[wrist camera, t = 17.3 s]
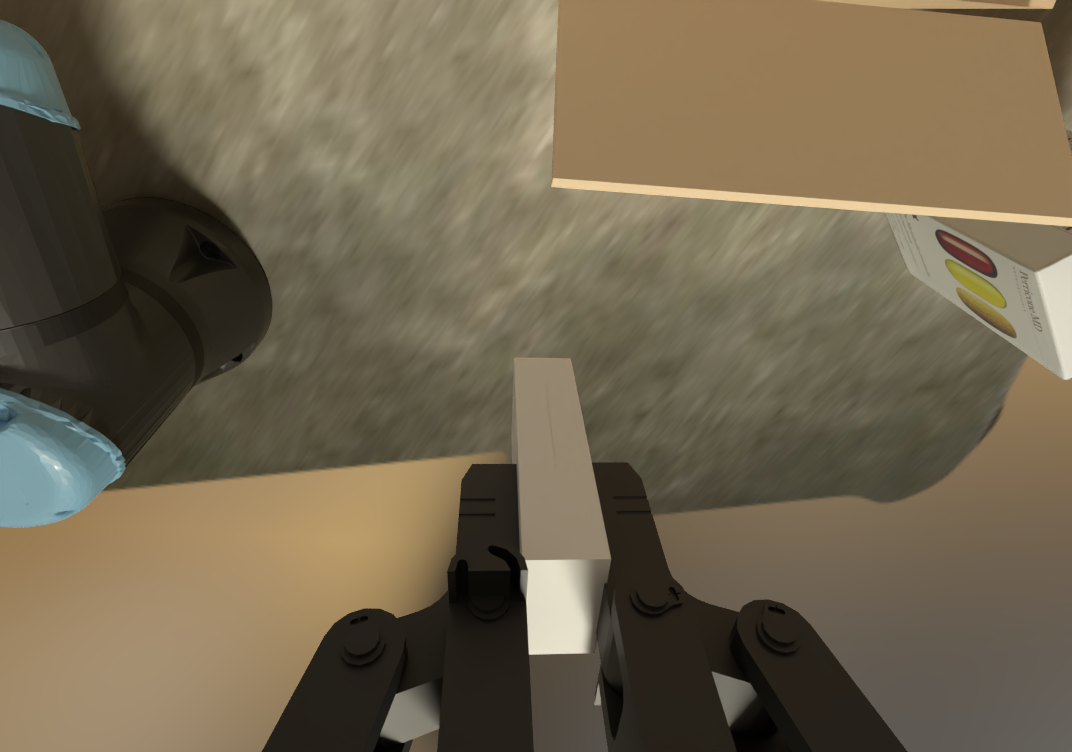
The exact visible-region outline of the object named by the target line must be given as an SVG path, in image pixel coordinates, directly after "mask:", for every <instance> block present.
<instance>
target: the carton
mask: <svg viewBox="0 0 1072 752" xmlns="http://www.w3.org/2000/svg"><path fill="white" fill-rule="evenodd" d="M818 1H828V2H838V3H848V4H859V5H869V6H879V7H889V8H905V9H1052V8H1053V6H1054V4H1055V2H1056V0H818Z"/></svg>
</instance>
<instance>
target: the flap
mask: <svg viewBox="0 0 1072 752" xmlns="http://www.w3.org/2000/svg"><path fill="white" fill-rule="evenodd" d="M552 187H560V188H573V189H586V190H599V191H612V192H626V193H639V194H652V195H665V196H678V197H691V198H704V199H717V200H730V201H743V202H756V203H769V204H782V205H796V206H809V207H822V208H835V209H848V210H861V211H874V212H887V213H900V214H913V215H926V216H939V217H952V218H966V219H979V220H992V221H1005V222H1018V223H1031V224H1044V225H1057V226H1070V227H1072V155H1071V150H1070V146H1069V142H1068V137H1067V133H1066V129H1065V124H1064V120H1063V116H1062V111H1061V107H1060V103H1059V98H1058V94H1057V89H1056V85H1055V81H1054V76H1053V72H1052V68H1051V63H1050V59H1049V55H1048V50H1047V46H1046V41H1045V37H1044V33H1043V28H1042V24H1041V22H1032V21H1022V20H1011V19H1001V18H991V17H981V16H971V15H961V14H950V13H940V12H930V11H920V10H910V9H899V8H889V7H879V6H869V5H859V4H848V3H838V2H828V1H818V0H559V1H558V28H557V54H556V81H555V108H554V134H553V161H552Z"/></svg>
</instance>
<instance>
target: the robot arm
mask: <svg viewBox="0 0 1072 752" xmlns="http://www.w3.org/2000/svg"><path fill="white" fill-rule="evenodd" d="M80 129H81V128H80V124H79V122H78V120H77V119H76V118H75V117H73V116H72V115H71V113H70V110H69V108H68V105H67V102H66V99H65V97H64V94H63V91H62V89H61V86H60V83H59V80H58V78H57V75H56V72H55V70H54V67H53V64H52V62H51V60H50V58H49V56H48V54H47V52H46V51H45V50H44V48H43V47H42V46H41V45H40V43H39V42H38V41H37V40H36V39H35V38H33V37H32V36H31V35H30V34H28V33H27V32H26V31H24V30H23V29H21V28H19V27H17V26H16V25H14V24H11V23H9V22H7V21H4V20H1V19H0V527H33V526H39V525H46V524H51V523H54V522H58V521H60V520H63V519H66V518H68V517H70V516H72V515H74V514H76V513H77V512H79V511H81V510H82V509H83V508H85V507H86V506H87V505H88V504H89V503H90V502H91V501H92V500H93V499H94V498H95V497H96V496H97V495H98V494H99V493H100V492H101V491H102V490H103V489H104V488H105V487H106V486H107V485H108V484H110V483H112V482H113V481H115V480H116V479H118V478H119V477H120V476H121V475H122V473H123V472H124V470H125V468H126V467H127V465H128V464H129V463H130V462H131V461H132V459H133V458H134V457H135V456H136V455H137V453H138V452H139V451H140V450H141V449H142V447H143V446H144V445H145V444H146V443H147V441H148V440H149V439H150V438H151V437H152V435H153V434H154V433H155V432H156V431H157V429H158V428H159V427H160V426H161V425H162V423H163V422H164V421H165V420H166V419H167V417H168V416H169V415H170V414H171V413H172V411H173V410H174V409H175V408H176V407H177V405H178V404H179V403H180V402H181V401H182V399H183V398H184V397H185V396H186V394H187V393H188V392H189V391H190V390H191V389H192V388H193V386H196V385H198V384H200V383H202V382H204V381H207V380H209V379H211V378H213V377H216V376H218V375H220V374H222V373H224V372H227V371H229V370H231V369H233V368H235V367H236V366H238V365H239V364H241V363H242V362H243V361H244V360H246V359H247V358H248V357H249V356H250V355H251V353H252V352H253V351H254V350H255V349H256V347H257V346H258V345H259V344H260V342H261V341H262V339H263V338H264V336H265V335H266V333H267V330H268V328H269V325H270V321H271V316H272V298H271V293H270V288H269V285H268V282H267V279H266V277H265V274H264V272H263V270H262V268H261V266H260V265H259V263H258V261H257V260H256V258H255V257H254V255H253V254H252V253H251V251H250V250H249V249H248V248H247V246H246V245H245V244H244V243H243V242H242V241H241V240H240V239H239V238H238V237H237V236H236V235H235V234H234V233H233V232H231V231H230V230H229V229H228V228H227V227H225V226H224V225H223V224H221V223H220V222H218V221H217V220H215V219H214V218H212V217H210V216H209V215H207V214H205V213H203V212H201V211H199V210H197V209H195V208H192V207H190V206H187V205H184V204H181V203H178V202H174V201H170V200H165V199H158V198H135V199H129V200H124V201H121V202H118V203H115V204H113V205H111V206H109V207H107V208H105V209H103V210H102V208H101V204H100V201H99V198H98V195H97V192H96V189H95V186H94V182H93V179H92V176H91V173H90V170H89V167H88V164H87V160H86V157H85V154H84V151H83V148H82V145H81V142H80V138H79V135H78V132H77V130H80ZM459 509H460V510H459V521H458V533H457V546H456V555H455V556H454V557H453V558H452V559H451V562H450V565H449V568H448V571H447V573H448V591H447V592H446V593H445V594H444V595H443V596H442V598H441V599H440V600H438V601H437V602H435V603H434V604H433V605H431V606H430V607H428V608H425V609H423V610H420V611H418V612H415V613H412V614H409V615H406V616H403V617H399V618H396V617H395V616H394V615H393V614H391V613H389V612H386V611H384V610H382V609H362V610H358V611H355V612H352V613H349V614H347V615H346V616H344V617H343V618H341V619H340V620H339V621H337V622H336V623H334V625H333V626H332V627H331V629H330V630H329V631H328V632H327V634H326V635H325V636H324V638H323V640H322V642H321V643H320V645H319V647H318V649H317V651H316V653H315V654H314V656H313V658H312V660H311V662H310V664H309V666H308V667H307V669H306V671H305V673H304V675H303V677H302V678H301V681H300V682H299V684H298V686H297V688H296V690H295V691H294V693H293V695H292V697H291V699H290V701H289V702H288V705H287V706H286V708H285V710H284V712H283V713H282V715H281V717H280V719H279V721H278V723H277V725H276V726H275V728H274V730H273V732H272V734H271V736H270V737H269V739H268V741H267V743H266V745H265V747H264V749H263V750H262V752H409V750H410V747H411V744H412V741H413V739H414V738H416V737H419V736H421V735H424V734H426V733H429V732H431V731H434V730H436V729H439V737H438V749H437V752H534V749H533V729H532V710H531V709H532V708H531V688H530V667H529V654H567V653H595V649H596V643H597V641H598V647H599V653H600V660H601V664H600V669H599V674H598V680H597V685H596V691H595V704H594V705H600V702H601V704H602V711H603V718H604V725H605V732H606V739H607V746H608V752H907V751H906V749H905V748H904V747H903V745H902V744H901V743H900V741H899V740H898V739H897V737H896V736H895V735H894V734H893V732H892V731H891V730H890V728H889V727H888V726H887V724H886V723H885V722H884V720H883V719H882V718H881V716H880V715H879V714H878V713H877V712H876V710H875V709H874V707H873V706H872V705H871V703H870V702H869V701H868V699H867V698H866V697H865V696H864V694H863V693H862V692H861V690H860V689H859V688H858V687H857V685H856V684H855V683H854V681H853V680H852V679H851V677H850V676H849V675H848V673H847V672H846V671H845V670H844V668H843V667H842V666H841V664H840V663H839V661H838V660H837V659H836V658H835V656H834V655H833V654H832V652H831V651H830V650H829V648H828V647H827V646H826V644H825V643H824V642H823V641H822V639H821V638H820V637H819V635H818V634H817V633H816V631H815V630H814V629H813V627H812V626H811V625H810V624H809V623H808V622H807V621H806V620H805V619H804V618H803V617H802V616H801V615H800V614H799V613H798V612H797V611H795V610H793V609H792V608H790V607H788V606H786V605H785V604H783V603H779V602H775V601H771V600H754V601H752V602H750V603H748V604H746V605H744V606H743V607H742V609H741V611H740V612H736V611H733V610H729V609H725V608H722V607H718V606H715V605H711V604H708V603H705V602H703V601H700V600H698V599H696V598H694V597H693V596H691V595H689V594H688V593H687V592H685V591H684V589H683V587H682V586H681V585H680V584H679V583H678V582H677V581H676V580H674V579H673V577H672V576H671V574H670V571H669V569H668V566H667V562H666V559H665V556H664V552H663V549H662V546H661V542H660V539H659V536H658V532H657V529H656V526H655V522H654V519H653V516H652V515H651V509H650V506H649V502H648V500H647V496H646V492H645V489H644V486H643V482H642V479H641V477H640V476H639V475H638V474H637V473H636V472H635V470H634V469H633V468H632V467H631V466H630V465H629V464H628V463H592V462H591V457H590V452H589V447H588V442H587V437H586V432H585V427H584V422H583V417H582V412H581V407H580V402H579V397H578V392H577V387H576V383H575V378H574V373H573V368H572V363H571V358H514V375H513V409H512V464H472V465H471V467H470V468H469V470H468V472H467V473H466V474H465V476H464V478H463V479H462V483H461V496H460V508H459Z"/></svg>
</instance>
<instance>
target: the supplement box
mask: <svg viewBox="0 0 1072 752" xmlns="http://www.w3.org/2000/svg"><path fill="white" fill-rule="evenodd" d="M1066 133H1067V137H1068V142H1069V146H1070V150H1071V155H1072V132H1071V131H1067V130H1066ZM885 213H886V215H887V218H888V220H889V223H890V225H891V228H892V230H893V233H894V235H895V238H896V240H897V243H898V245H899V248H900V251H901V253H902V256H903V258H904V261H905V263H906V266H907V268H908V270H909V272H910V273H911V274H913V275H914V276H915V277H917V278H918V279H920V280H921V281H922V282H924V283H925V284H927V285H928V286H930V287H931V288H932V289H934V290H935V291H937V292H938V293H940V294H941V295H943V296H944V297H945V298H947V299H948V300H950V301H951V302H953V303H954V304H955V305H957V306H958V307H960V308H961V309H963V310H964V311H965V312H967V313H968V314H970V315H972V316H973V317H974V318H976V319H977V320H979V321H980V322H981V323H983V324H984V325H986V326H987V327H989V328H990V329H991V330H993V331H994V332H996V333H997V334H999V335H1000V336H1002V337H1003V338H1004V339H1006V340H1007V341H1009V342H1010V343H1012V344H1013V345H1015V346H1016V347H1018V348H1019V349H1020V350H1022V351H1023V352H1025V353H1026V354H1027V355H1029V356H1030V357H1032V358H1033V359H1035V360H1036V361H1038V362H1039V363H1040V364H1042V365H1043V366H1045V367H1046V368H1047V369H1049V370H1050V371H1052V372H1053V373H1055V374H1056V375H1058V376H1059V377H1060V378H1062V379H1064V380H1067V379H1070V378H1072V227H1070V226H1057V225H1044V224H1031V223H1018V222H1005V221H992V220H979V219H966V218H952V217H939V216H926V215H913V214H900V213H887V212H885Z"/></svg>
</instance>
